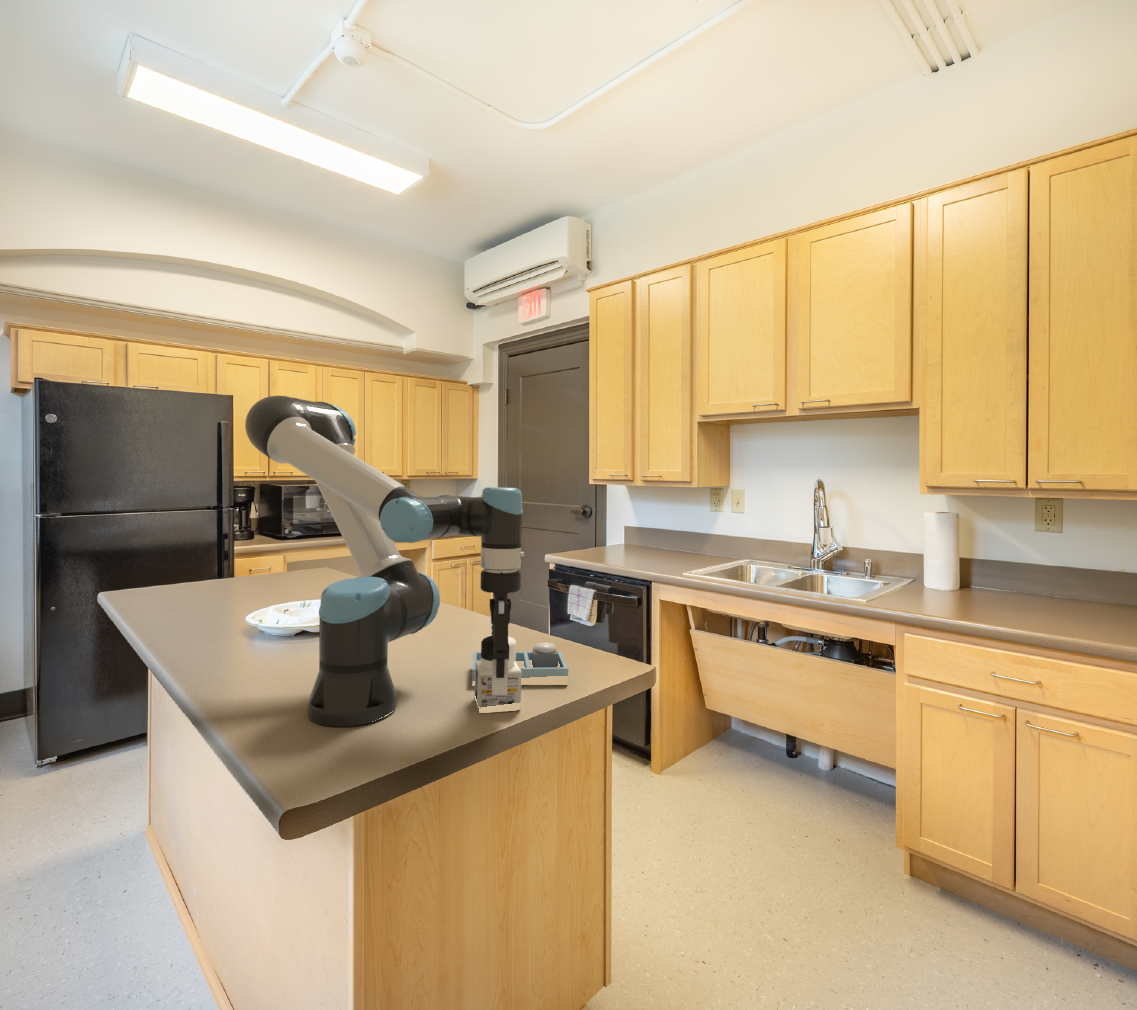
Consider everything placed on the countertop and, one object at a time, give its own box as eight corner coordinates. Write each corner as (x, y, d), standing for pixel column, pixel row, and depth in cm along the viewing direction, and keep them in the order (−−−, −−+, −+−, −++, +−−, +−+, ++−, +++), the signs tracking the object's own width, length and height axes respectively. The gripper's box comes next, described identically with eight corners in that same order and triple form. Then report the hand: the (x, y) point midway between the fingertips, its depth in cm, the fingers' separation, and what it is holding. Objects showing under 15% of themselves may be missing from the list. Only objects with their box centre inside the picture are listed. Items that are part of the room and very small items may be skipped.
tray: (471, 686, 122) (472, 654, 122) (472, 667, 134) (473, 638, 134) (567, 685, 125) (568, 653, 124) (560, 666, 137) (561, 637, 136)
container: (478, 714, 108) (480, 644, 107) (474, 699, 116) (475, 633, 115) (520, 711, 110) (522, 642, 110) (513, 696, 118) (515, 631, 117)
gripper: (525, 581, 100) (522, 705, 101) (517, 560, 124) (515, 660, 125) (480, 581, 99) (477, 707, 100) (481, 560, 123) (479, 661, 124)
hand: (498, 681), depth 113 cm, fingers open, 13 cm apart
